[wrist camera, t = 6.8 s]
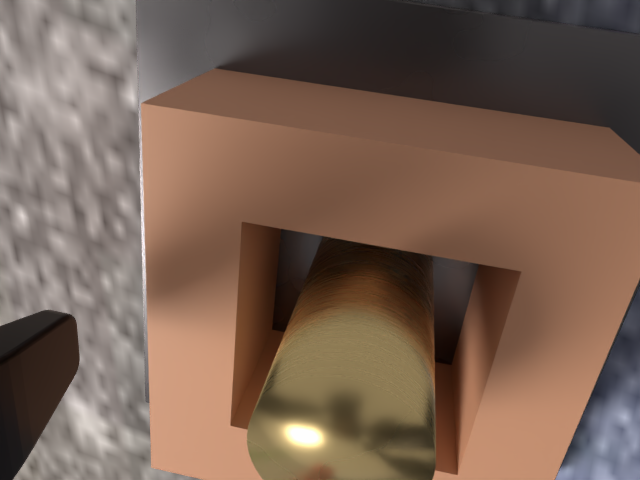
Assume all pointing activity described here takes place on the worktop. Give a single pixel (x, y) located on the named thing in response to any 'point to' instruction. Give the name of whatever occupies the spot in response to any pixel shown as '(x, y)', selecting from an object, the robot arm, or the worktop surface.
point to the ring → (386, 231)
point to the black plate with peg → (364, 259)
